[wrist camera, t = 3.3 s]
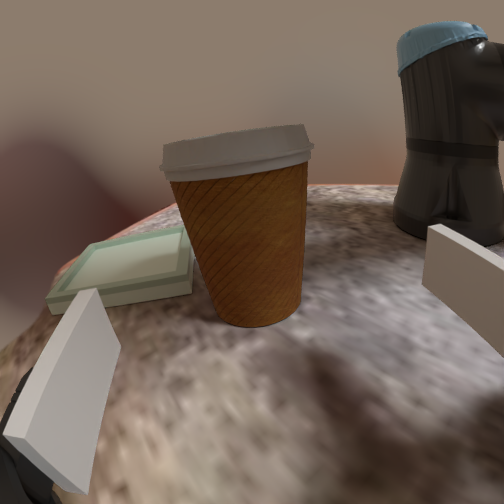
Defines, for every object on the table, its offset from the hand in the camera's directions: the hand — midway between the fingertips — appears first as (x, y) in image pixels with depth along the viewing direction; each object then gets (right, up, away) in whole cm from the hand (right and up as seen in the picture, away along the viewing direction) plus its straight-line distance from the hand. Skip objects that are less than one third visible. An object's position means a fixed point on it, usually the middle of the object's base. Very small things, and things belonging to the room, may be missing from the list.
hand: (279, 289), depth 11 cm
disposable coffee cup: (-1, -3, +11) cm, 12 cm away
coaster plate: (-14, -1, +20) cm, 24 cm away
